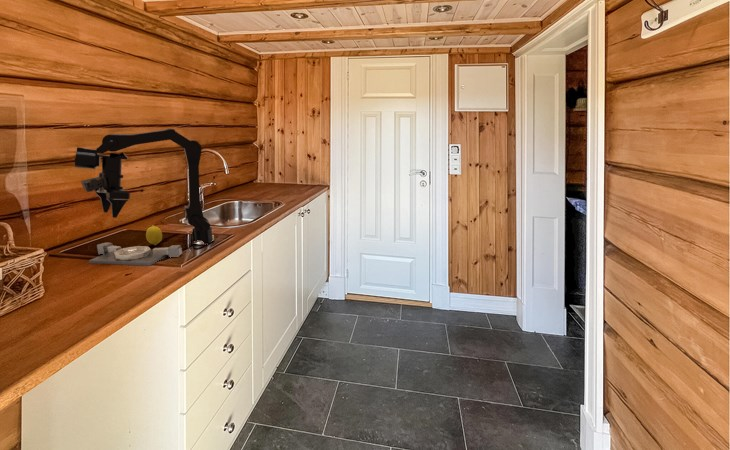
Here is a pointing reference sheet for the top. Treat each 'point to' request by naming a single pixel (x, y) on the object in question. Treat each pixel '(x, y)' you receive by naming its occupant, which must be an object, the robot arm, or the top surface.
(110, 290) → the top surface
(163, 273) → the top surface
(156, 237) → the lemon
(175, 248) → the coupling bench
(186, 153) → the robot arm
